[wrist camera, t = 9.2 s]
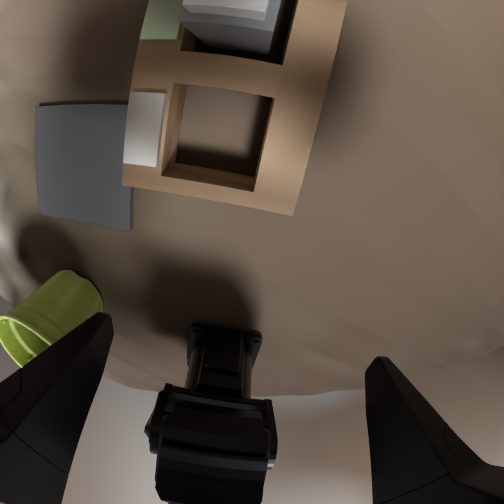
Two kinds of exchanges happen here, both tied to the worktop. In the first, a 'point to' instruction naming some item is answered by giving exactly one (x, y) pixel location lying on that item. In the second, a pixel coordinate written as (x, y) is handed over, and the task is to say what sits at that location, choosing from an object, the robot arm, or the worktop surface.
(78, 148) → the pad
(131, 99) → the socket block
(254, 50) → the plug
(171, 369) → the worktop surface
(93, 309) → the plant pot
